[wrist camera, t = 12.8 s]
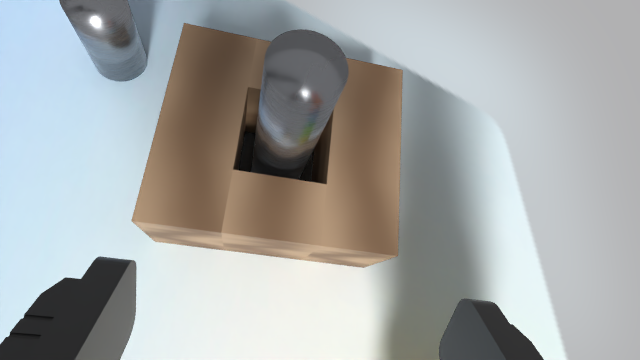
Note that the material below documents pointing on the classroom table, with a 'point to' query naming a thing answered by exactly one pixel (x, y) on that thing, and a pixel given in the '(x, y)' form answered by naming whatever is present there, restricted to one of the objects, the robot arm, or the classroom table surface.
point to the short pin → (108, 36)
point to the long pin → (296, 100)
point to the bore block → (265, 190)
